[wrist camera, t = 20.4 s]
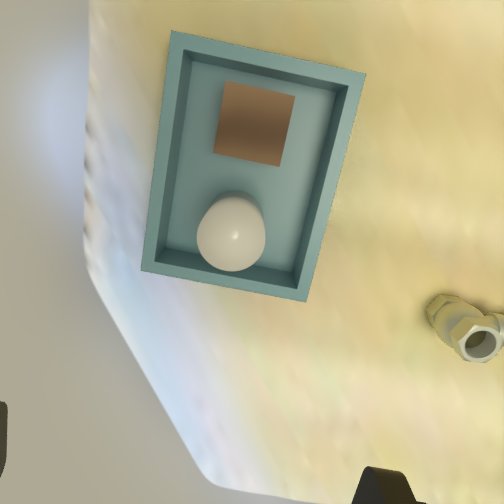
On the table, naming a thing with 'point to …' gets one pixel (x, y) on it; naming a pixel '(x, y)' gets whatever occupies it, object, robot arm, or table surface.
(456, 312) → the valve
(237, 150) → the walnut cube
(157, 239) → the tote
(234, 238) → the ceramic capsule
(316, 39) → the table surface
